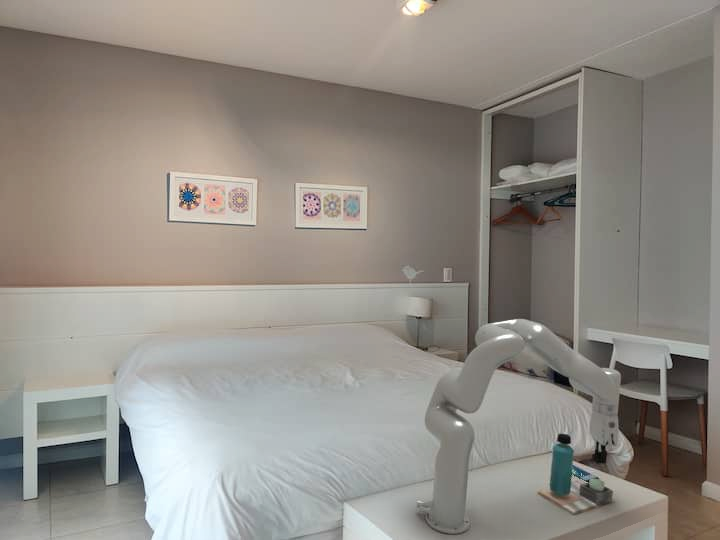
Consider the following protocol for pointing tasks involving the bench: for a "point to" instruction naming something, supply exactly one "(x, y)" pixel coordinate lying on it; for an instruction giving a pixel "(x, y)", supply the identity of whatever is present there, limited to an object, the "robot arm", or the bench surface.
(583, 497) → the wooden tray
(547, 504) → the bench surface
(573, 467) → the smartphone
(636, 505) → the bench surface
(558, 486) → the beverage bottle
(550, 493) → the terracotta square
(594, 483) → the button
